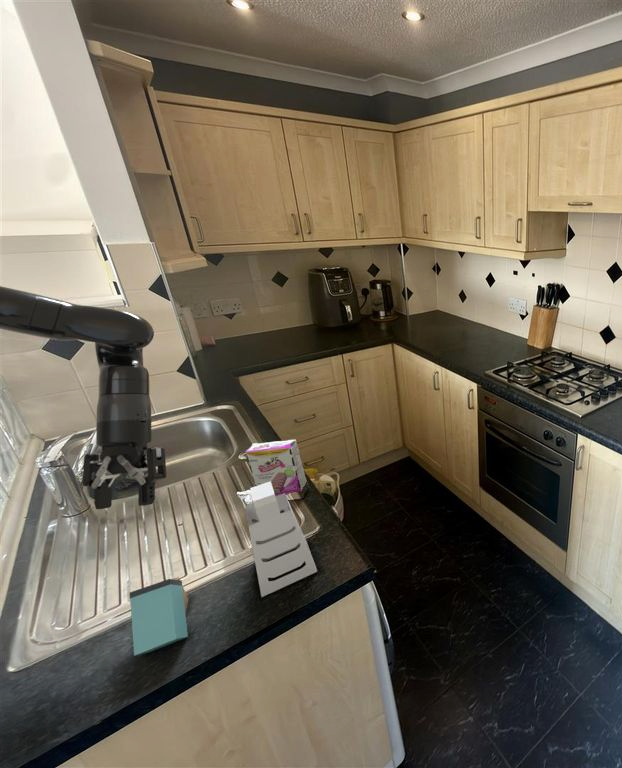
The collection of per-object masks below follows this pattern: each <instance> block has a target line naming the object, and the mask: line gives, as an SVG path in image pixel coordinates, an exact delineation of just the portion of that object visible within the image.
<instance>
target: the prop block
mask: <svg viewBox="0 0 622 768" xmlns="http://www.w3.org/2000/svg"><path fill="white" fill-rule="evenodd" d="M173 579H175V580H181V578H180V577H179V576H177V577H174V578H173ZM182 589H183V598H184V606H185V615H186V614H187V609H188V604H189V597H188V594H187V593H186V590H185V589H184V586H183V585H182Z"/></svg>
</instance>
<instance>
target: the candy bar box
mask: <svg viewBox="0 0 622 768" xmlns="http://www.w3.org/2000/svg"><path fill="white" fill-rule="evenodd" d="M245 458H246V460H247V464H248V466H249V470H250V473H251V476H252V479H253V482H254V485H255V486H258V485H261V484H264V483H267V482H270V481H271V484H272V487H273V490H274V494H275V496H278V495H281V494H284V493H285V495H287V494H289V493H293V492H297V491H302V489H303V487H304V486H305V484H306V482H307V483H308V481H307V477H306V473H305V469H304V465H303V462H302V458H301V454H300V449H299V446H298V441H297V439H286V440H277V441H276V440H275V441H267V442H265V441H264V442H255V443H252V444H251V445H250V446H249V447H248V449H246V450H245ZM255 486H254V487H255Z"/></svg>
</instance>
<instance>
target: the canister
mask: <svg viewBox="0 0 622 768" xmlns="http://www.w3.org/2000/svg"><path fill="white" fill-rule="evenodd" d="M182 586H183V580H181V579H180V580H175V579H174V578H168V579H165V580H162V581H159V582H156V583H153V584H151V585H148V586H145V587H142V588H138V589H136V590H133V591H130V592H129V602H130V614H131V615H130V616H131V629H132V631H131V633H132V643H133V644H132V646H133V656H134V657H135V656H139V655H143V654H148V653H151V652H154V651H156V650H158V649H161V648H164V647H166V646H169V645H171V644H174V643H177V642H178V641H181V640H184V639H186V638H188V637H189V635H188V634H189V633H188V626H187V624H188V623H187V615H186V614H185V606H184V598H183V589H182Z"/></svg>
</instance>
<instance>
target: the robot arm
mask: <svg viewBox="0 0 622 768" xmlns="http://www.w3.org/2000/svg"><path fill="white" fill-rule="evenodd" d="M0 330H3V331H7V332H13V333H17V334H22V335H28V336H33V337H37V338H43V339H49V340H54V341H61V342H62V341H63V342H70V341H83V342H89V343H94V349H95V355H96V361H97V365H98V370H99V373H98V398H97V404H96V417H95V418H96V419H95V420H96V425H95V427H96V428H95V429H96V430H95V431H96V434H95V435H96V437H95V438H96V440H95V441H96V446H98V447H101V452H93V453H86V454H84V457H83V473H82V486H84V487H91V489H93V490H94V493H93V495H94V497H93V498H94V499H93V500H94V501H93V503H94V506H95V509H96V510H103V509H104V510H105V509H109V508H111V507H112V506H113V505H112V503H113V502H112V501H113V497H112V495H113V493H112V491H113V490H112V489H113V487H111V486H112V485H113V483H114V482H115V480H116V479H117V478H118V477H120V476H121V475H126V474H128V475H129V476H131V477H133V478H135V480H136V481H137V482H138V484H139V485H138V489H137V490H138V492H137V493H138V495H137V496H138V497H137V498H138V506H139V507H144V506H149V505H150V506H151V505H153V503H154V502H155V499H156V483H157V482H158V481H160V480H163V479H166V478H167V463H166V462H167V461H166V449H165V448H164V447H163V446H156V447H148V444H149V443H151V442H152V404H151V399H150V398H151V397H150V374H149V371H148V369H147V368H146V367H145V366H144V357H143V355H144V354H143V351H144V348H146V347H147V346H148V345H150V344H151V343H152V341H153V339H154V336H155V331H154V327H153V326H152V324H151V323H150V322H149V321H148V320H146V319H145V318H144V317H141V316H139V315H137V314H134V313H131V312H128V311H124V310H120V309H119V310H118V309H112V308H108V307H107V308H106V307H101V306H100V307H99V306H92V305H83V304H77V303H72V302H69V301H65V300H61V299H57V298H53V297H49V296H46V295H41V294H37V293H33V292H29V291H25V290H20V289H15V288H12V287H7V286H2V285H0ZM93 473H94V478H93V477H92V476H93Z"/></svg>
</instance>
